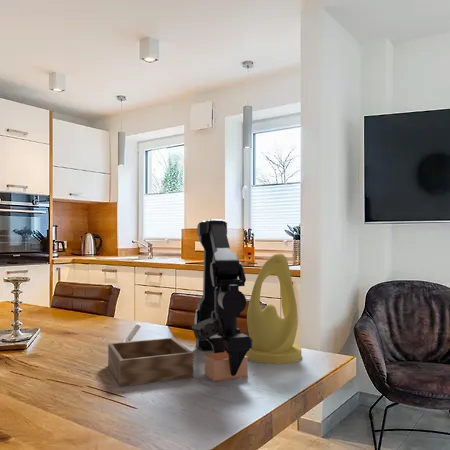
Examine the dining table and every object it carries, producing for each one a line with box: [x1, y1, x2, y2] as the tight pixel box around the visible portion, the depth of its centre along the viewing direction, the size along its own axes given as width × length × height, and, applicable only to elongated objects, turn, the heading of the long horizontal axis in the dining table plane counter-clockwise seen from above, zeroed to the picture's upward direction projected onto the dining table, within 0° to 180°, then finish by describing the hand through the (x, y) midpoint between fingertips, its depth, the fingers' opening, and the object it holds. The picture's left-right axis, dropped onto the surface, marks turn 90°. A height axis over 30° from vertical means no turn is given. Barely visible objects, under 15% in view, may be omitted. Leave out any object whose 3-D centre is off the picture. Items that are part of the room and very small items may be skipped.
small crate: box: [204, 352, 249, 382], centre depth 114 cm, size 9×6×5 cm
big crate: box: [107, 337, 194, 387], centre depth 117 cm, size 18×18×6 cm
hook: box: [123, 322, 142, 342], centre depth 132 cm, size 8×12×7 cm
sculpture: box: [245, 253, 302, 365], centre depth 133 cm, size 17×17×30 cm
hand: (225, 370), depth 114 cm, fingers open, 9 cm apart
